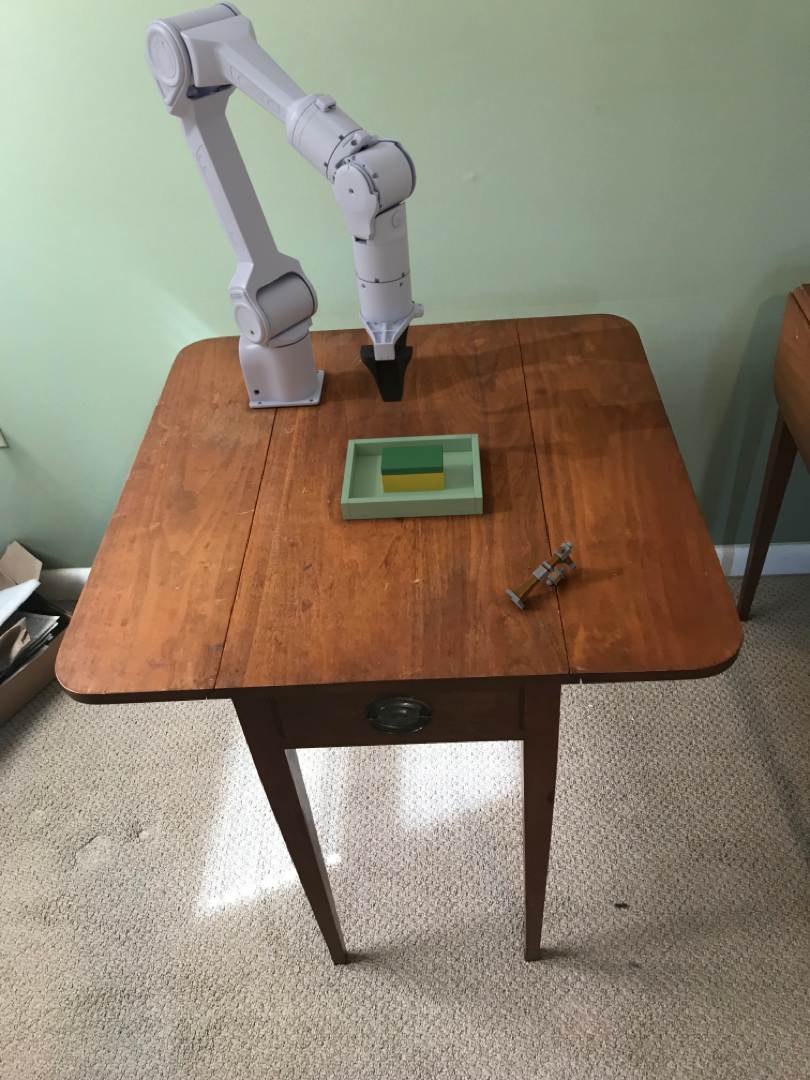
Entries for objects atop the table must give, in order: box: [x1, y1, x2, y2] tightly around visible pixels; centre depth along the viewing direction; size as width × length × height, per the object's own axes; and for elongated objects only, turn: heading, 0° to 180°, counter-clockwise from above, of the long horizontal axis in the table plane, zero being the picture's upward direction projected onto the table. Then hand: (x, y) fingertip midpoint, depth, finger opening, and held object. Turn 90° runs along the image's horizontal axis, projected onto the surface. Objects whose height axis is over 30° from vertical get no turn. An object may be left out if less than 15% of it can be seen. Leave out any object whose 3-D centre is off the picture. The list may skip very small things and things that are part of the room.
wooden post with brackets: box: [505, 541, 577, 610], centre depth 76 cm, size 2×8×4 cm, turn 123°
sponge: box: [381, 445, 444, 492], centre depth 88 cm, size 7×4×4 cm, turn 88°
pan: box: [340, 433, 484, 521], centre depth 89 cm, size 16×12×2 cm
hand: (393, 381), depth 90 cm, fingers open, 7 cm apart
